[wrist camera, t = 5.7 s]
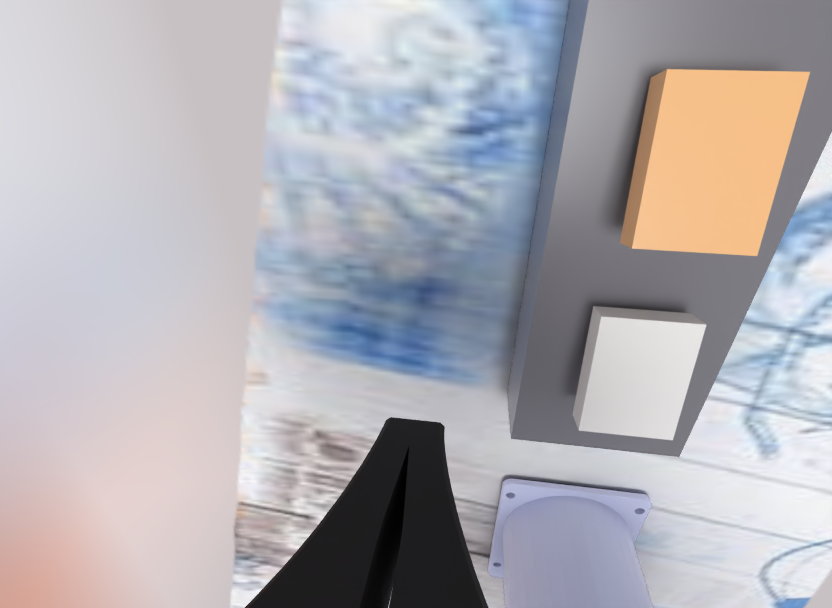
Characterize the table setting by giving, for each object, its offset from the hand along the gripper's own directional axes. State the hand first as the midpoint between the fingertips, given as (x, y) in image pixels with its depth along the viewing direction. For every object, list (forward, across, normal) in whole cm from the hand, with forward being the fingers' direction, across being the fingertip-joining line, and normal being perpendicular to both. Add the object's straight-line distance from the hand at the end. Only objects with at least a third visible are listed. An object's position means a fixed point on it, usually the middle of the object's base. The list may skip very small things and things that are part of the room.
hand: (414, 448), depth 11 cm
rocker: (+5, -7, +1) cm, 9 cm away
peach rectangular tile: (+5, -7, -6) cm, 11 cm away
